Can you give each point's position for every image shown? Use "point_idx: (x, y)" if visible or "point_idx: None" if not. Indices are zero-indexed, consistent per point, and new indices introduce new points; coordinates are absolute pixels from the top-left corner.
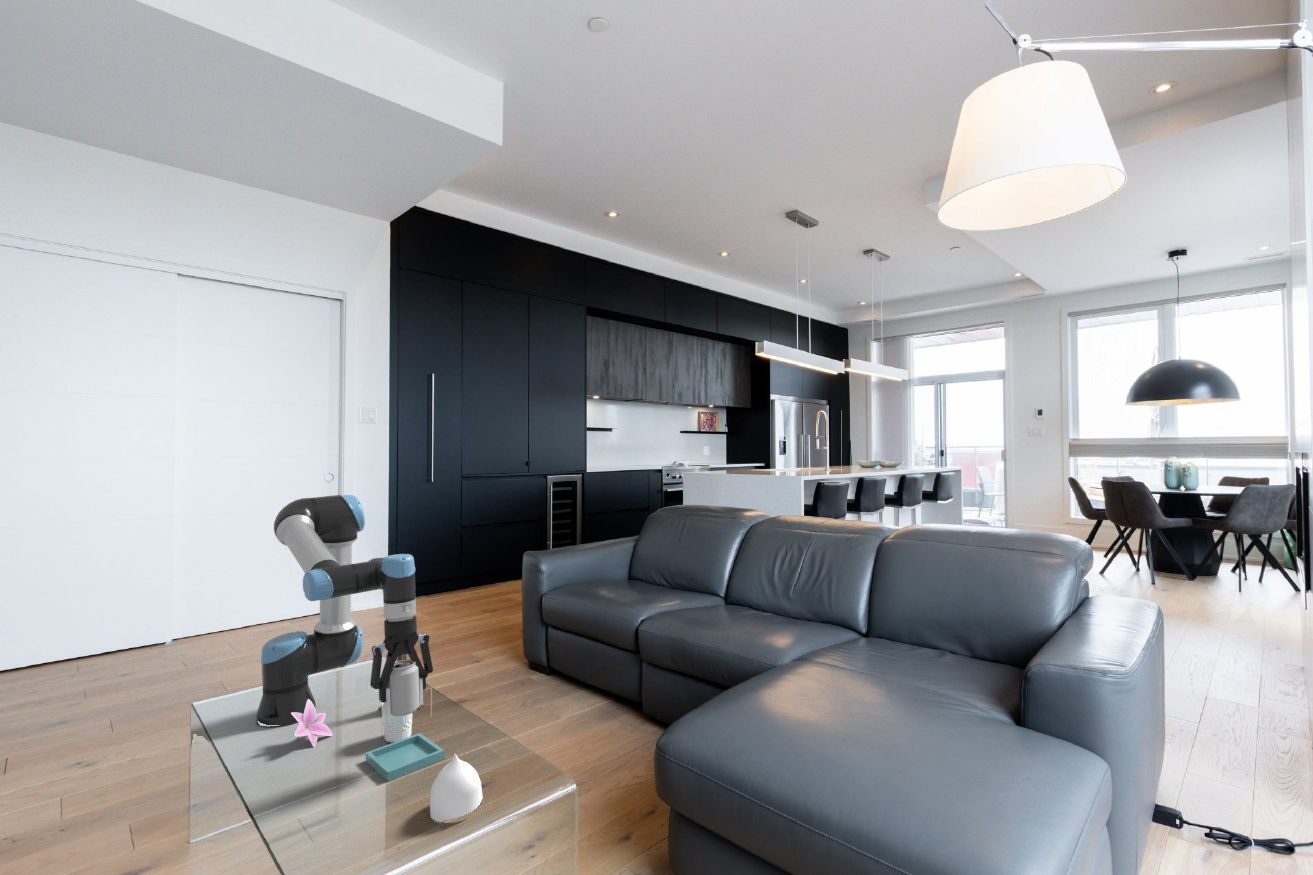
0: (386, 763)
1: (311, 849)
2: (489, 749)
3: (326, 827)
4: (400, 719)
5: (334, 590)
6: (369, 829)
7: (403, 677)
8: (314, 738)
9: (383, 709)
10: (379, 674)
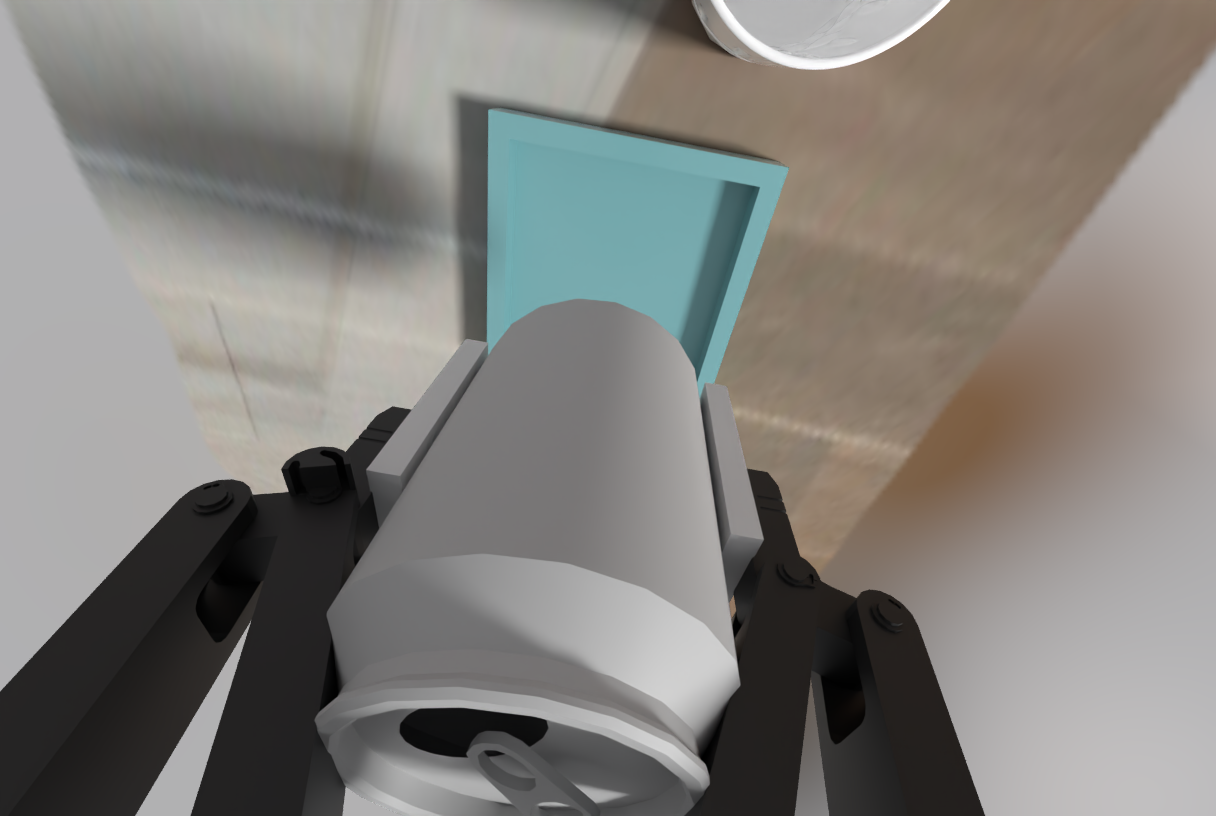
0: (541, 251)
1: (251, 453)
2: (820, 464)
3: (288, 409)
4: (747, 59)
5: None
6: None
7: (478, 716)
8: None
9: (457, 353)
10: (181, 714)
